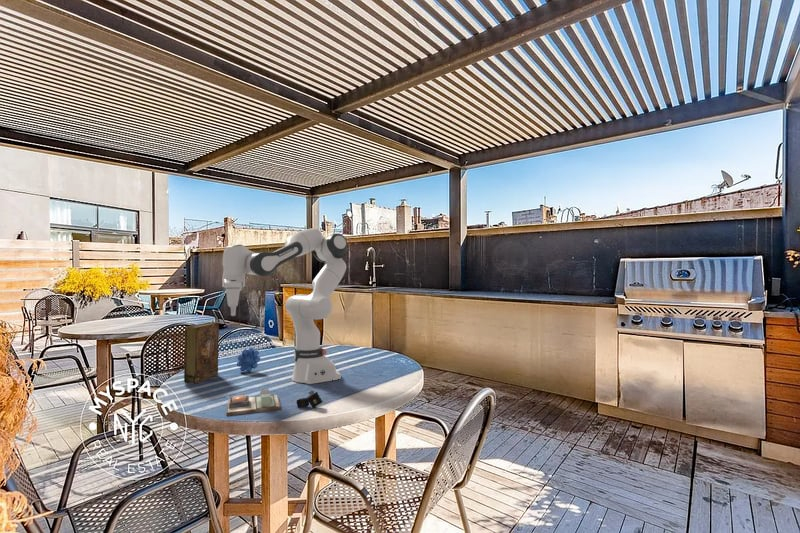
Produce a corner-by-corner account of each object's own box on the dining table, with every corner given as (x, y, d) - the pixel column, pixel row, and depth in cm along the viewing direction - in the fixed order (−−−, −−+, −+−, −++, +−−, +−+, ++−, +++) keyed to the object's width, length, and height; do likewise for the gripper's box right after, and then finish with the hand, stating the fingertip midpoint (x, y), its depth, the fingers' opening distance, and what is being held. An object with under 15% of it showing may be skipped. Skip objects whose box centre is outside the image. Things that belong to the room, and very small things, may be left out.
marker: (268, 396, 150) (268, 388, 150) (270, 405, 141) (270, 396, 141) (260, 397, 149) (260, 389, 149) (261, 406, 140) (261, 397, 140)
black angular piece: (301, 415, 141) (293, 402, 141) (303, 413, 143) (295, 400, 144) (321, 403, 141) (313, 390, 141) (322, 401, 143) (315, 388, 143)
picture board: (277, 396, 153) (277, 389, 154) (280, 409, 140) (280, 401, 140) (228, 402, 147) (228, 394, 147) (226, 415, 133) (226, 407, 133)
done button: (246, 401, 145) (246, 394, 145) (246, 405, 140) (246, 398, 140) (232, 402, 143) (232, 396, 143) (231, 407, 138) (231, 400, 138)
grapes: (263, 370, 193) (263, 346, 194) (257, 373, 187) (258, 348, 187) (240, 369, 194) (241, 345, 194) (234, 373, 187) (234, 348, 187)
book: (209, 374, 185) (210, 322, 185) (219, 374, 184) (220, 322, 184) (184, 383, 169) (184, 326, 169) (194, 384, 168) (195, 327, 168)
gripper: (226, 281, 171) (226, 312, 171) (224, 283, 152) (223, 318, 152) (242, 281, 174) (241, 312, 174) (241, 283, 155) (241, 318, 155)
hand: (233, 315), depth 163 cm, fingers closed
